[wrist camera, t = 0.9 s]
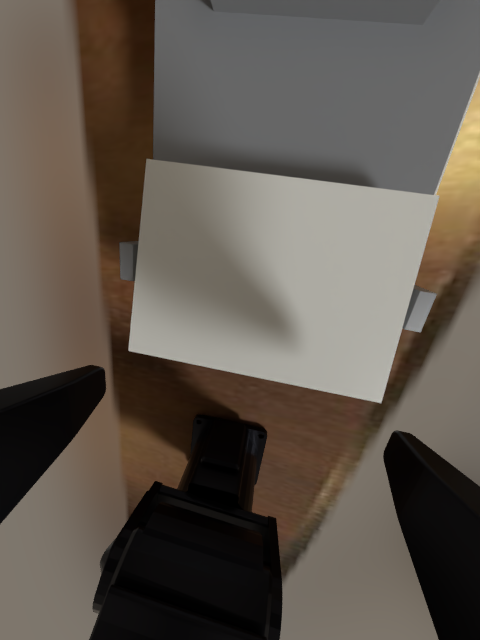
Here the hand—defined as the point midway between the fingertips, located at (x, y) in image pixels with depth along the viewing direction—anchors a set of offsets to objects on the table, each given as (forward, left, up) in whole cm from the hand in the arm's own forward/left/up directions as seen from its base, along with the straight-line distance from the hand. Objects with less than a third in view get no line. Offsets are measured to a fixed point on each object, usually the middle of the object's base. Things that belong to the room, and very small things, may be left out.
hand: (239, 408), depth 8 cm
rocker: (+3, 0, -5) cm, 6 cm away
